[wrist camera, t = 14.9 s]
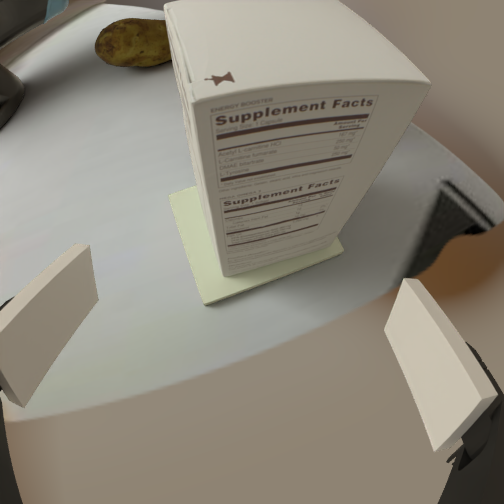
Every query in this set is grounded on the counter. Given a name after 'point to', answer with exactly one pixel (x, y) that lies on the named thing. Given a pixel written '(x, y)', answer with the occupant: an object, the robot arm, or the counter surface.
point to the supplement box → (285, 119)
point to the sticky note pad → (206, 262)
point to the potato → (134, 43)
